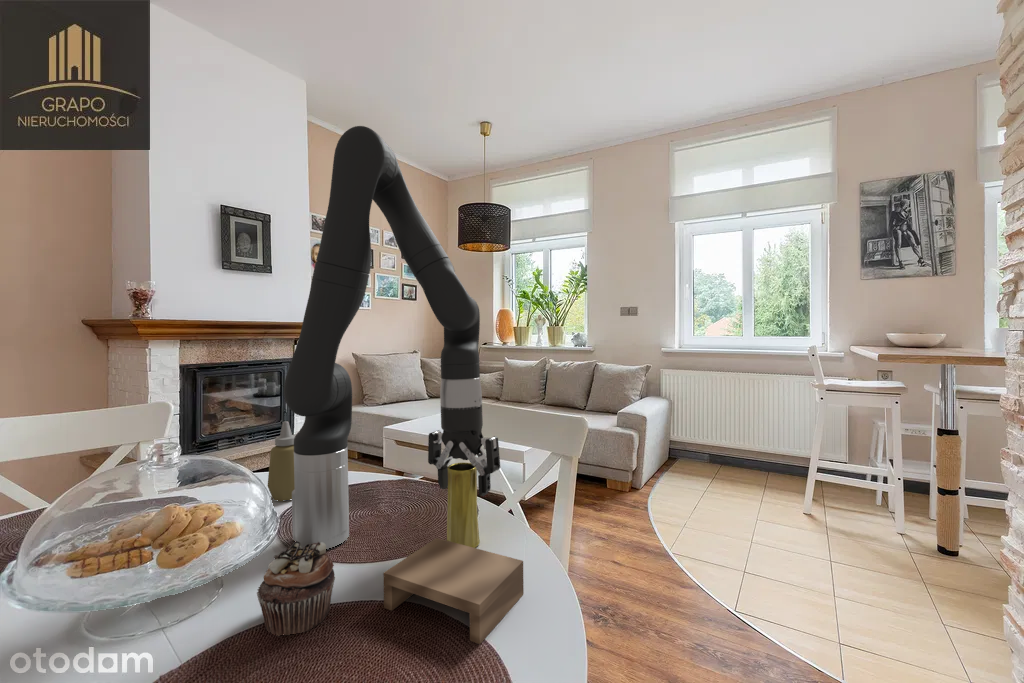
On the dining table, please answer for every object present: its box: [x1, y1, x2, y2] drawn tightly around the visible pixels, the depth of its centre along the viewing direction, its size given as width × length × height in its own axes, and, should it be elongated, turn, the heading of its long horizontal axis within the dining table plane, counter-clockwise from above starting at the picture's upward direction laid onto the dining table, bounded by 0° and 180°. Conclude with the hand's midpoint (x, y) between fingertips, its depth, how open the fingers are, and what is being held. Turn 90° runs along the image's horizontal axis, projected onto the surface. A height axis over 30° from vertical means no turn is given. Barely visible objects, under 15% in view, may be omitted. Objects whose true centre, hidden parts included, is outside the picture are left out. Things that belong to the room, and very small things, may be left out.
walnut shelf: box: [382, 537, 525, 645], centre depth 65 cm, size 16×12×5 cm
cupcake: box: [256, 541, 336, 637], centre depth 62 cm, size 10×10×10 cm
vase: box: [446, 462, 481, 549], centre depth 82 cm, size 6×6×14 cm
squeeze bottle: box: [267, 420, 296, 502], centre depth 106 cm, size 8×8×18 cm
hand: (464, 491), depth 82 cm, fingers open, 8 cm apart
